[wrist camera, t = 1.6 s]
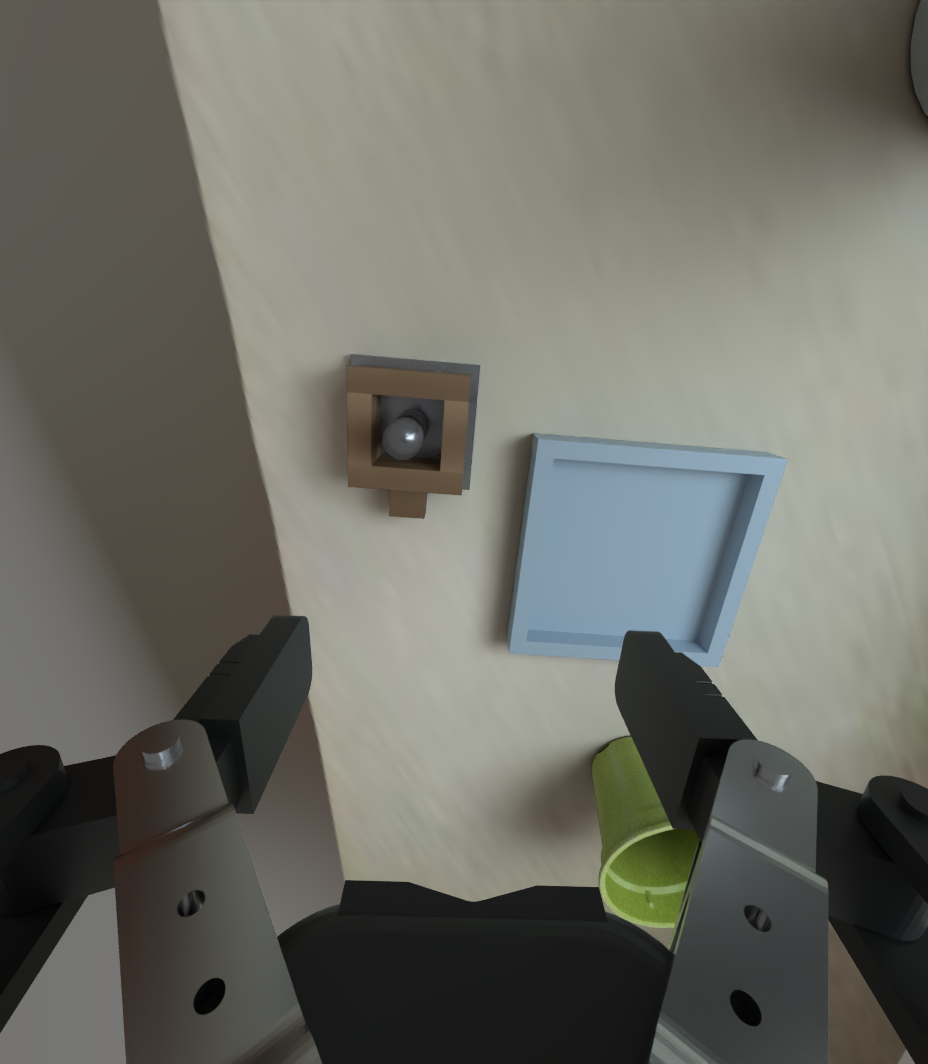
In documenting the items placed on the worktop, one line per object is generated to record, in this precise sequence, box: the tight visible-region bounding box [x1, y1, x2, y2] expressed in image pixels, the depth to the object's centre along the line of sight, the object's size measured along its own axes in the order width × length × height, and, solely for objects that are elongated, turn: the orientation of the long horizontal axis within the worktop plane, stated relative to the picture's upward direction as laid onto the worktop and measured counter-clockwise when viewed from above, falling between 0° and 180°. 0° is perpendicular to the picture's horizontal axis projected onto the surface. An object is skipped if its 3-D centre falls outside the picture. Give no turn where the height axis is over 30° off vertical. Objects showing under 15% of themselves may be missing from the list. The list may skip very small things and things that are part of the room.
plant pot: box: [592, 736, 699, 928], centre depth 32 cm, size 9×9×9 cm
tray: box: [507, 433, 788, 667], centre depth 29 cm, size 14×14×2 cm
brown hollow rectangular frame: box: [347, 365, 471, 519], centre depth 25 cm, size 8×6×3 cm
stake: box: [350, 354, 480, 490], centre depth 24 cm, size 7×7×6 cm
